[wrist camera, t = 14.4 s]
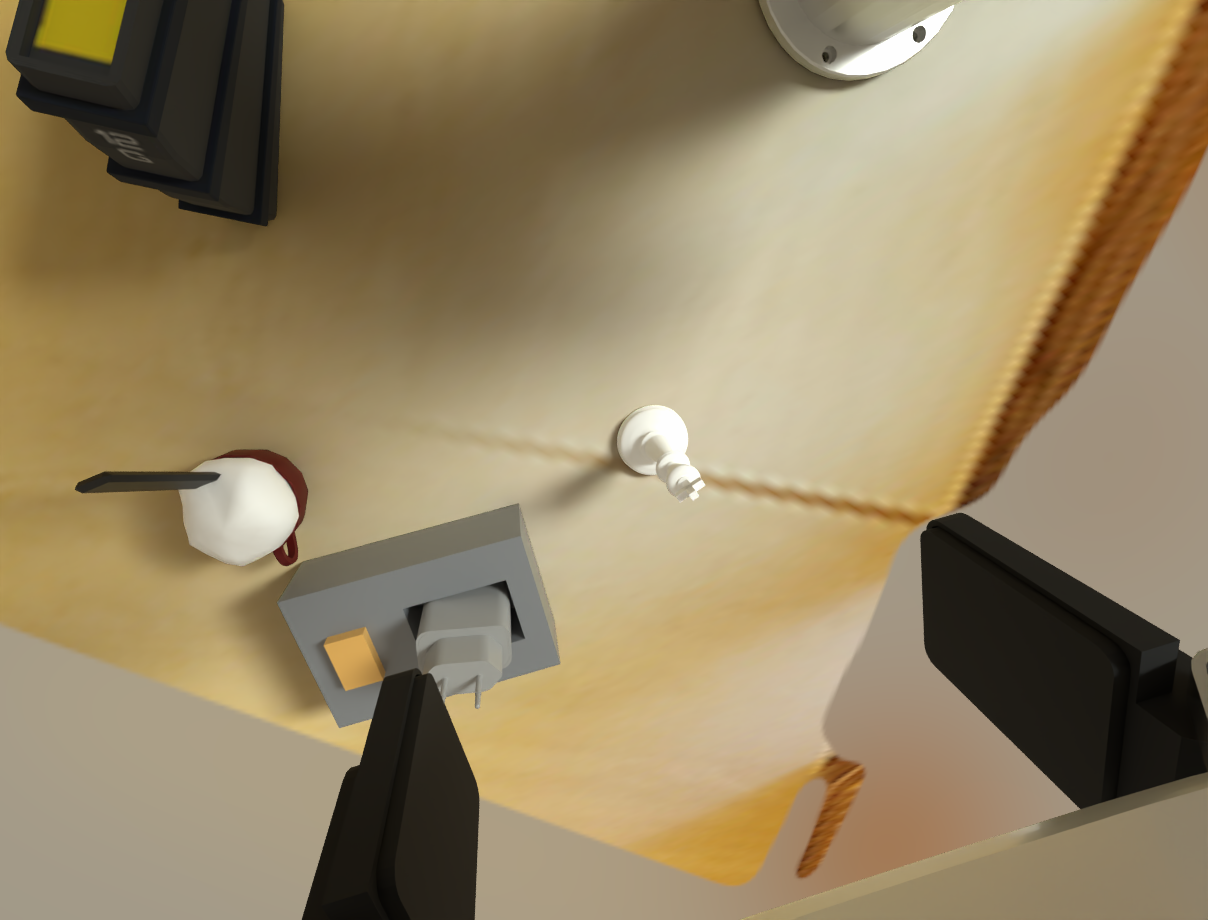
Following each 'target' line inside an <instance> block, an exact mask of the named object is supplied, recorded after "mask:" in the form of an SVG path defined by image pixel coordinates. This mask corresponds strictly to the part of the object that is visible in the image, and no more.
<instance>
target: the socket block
mask: <svg viewBox="0 0 1208 920" xmlns="http://www.w3.org/2000/svg"><path fill="white" fill-rule="evenodd" d="M505 580H506V582H507V585H508V588H509V591H510V603H511V648H512V660H511V662H510V664H509V665H508V666H507V667H506V668H503V669H502V677H501V678H500V679H499V680H498V682H500V681H504V680H507V679H510V678H514V677H517V676H521V675H524V674H528V673H531V672H535V671H538V670H541V669H545V668H548V667H552V666H555V665H559V664H560V657H559V650H558V643H557V635H556V628H555V621H554V618H553V614H552V611H551V608H550V605H549V601H548V598H547V595H546V591H545V588H544V585H543V581H542V578H541V575H540V572H539V568H538V565H537V562H536V558H535V555H534V552H533V549H532V545H531V542H530V539H529V535H528V532H527V529H526V526H525V522H524V519H523V516H522V512H521V509H520V506H519V504H515V505H511V506H508V507H504V508H500V509H497V510H493V511H489V512H485V513H482V514H478V515H474V516H471V517H467V518H463V519H460V520H456V521H452V522H448V523H445V524H441V525H437V526H434V527H430V528H426V529H423V530H419V531H415V532H411V533H408V534H404V535H400V536H397V537H393V538H389V539H386V540H382V541H378V542H375V543H371V544H367V545H363V546H360V547H356V548H352V549H349V550H345V551H341V552H338V553H334V554H330V555H326V556H323V557H319V558H315V559H312V560H308V561H304V562H302V563H301V565H300V566H299V568H298V570H297V571H296V573H295V574H294V576H293V578H292V579H291V581H290V582H289V584H288V586H287V587H286V589H285V590H284V592H283V594H282V595H281V597H280V598H279V600H278V602H277V604H278V606H279V608H280V610H281V612H282V614H283V616H284V618H285V620H286V622H287V624H288V626H289V628H290V630H291V632H292V634H293V636H294V638H295V640H296V642H297V644H298V646H299V648H300V650H301V652H302V654H303V656H304V658H305V660H306V662H307V664H308V666H309V668H310V670H311V672H312V674H313V676H314V678H315V680H316V682H317V684H318V686H319V688H320V690H321V692H322V694H323V696H324V699H325V701H326V703H327V705H328V707H329V709H330V711H331V713H332V715H333V717H334V719H335V721H336V723H337V725H338V727H339V728H341V727H345V726H348V725H352V724H355V723H359V722H362V721H366V720H369V719H372V718H373V714H374V711H375V707H376V703H377V700H378V696H379V692H380V689H381V685H382V682H383V679H384V678H385V677H386V676H390V675H393V674H397V673H400V672H404V671H407V670H411V669H414V668H418V669H419V667H418V659H417V650H416V639H417V634H418V630H419V625H420V620H421V616H422V611H423V607H424V603H426V602H429V601H433V600H436V599H440V598H444V597H447V596H451V595H454V594H458V593H462V592H465V591H469V590H472V589H476V588H480V587H483V586H487V585H490V584H494V583H497V582H501V581H505ZM419 670H420V669H419ZM421 673H422V672H421ZM422 674H423V673H422ZM454 695H455V694H454ZM448 696H452V695H446V697H448Z"/></svg>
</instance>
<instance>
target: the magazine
mask: <svg viewBox="0 0 1208 920" xmlns="http://www.w3.org/2000/svg"><path fill="white" fill-rule="evenodd" d="M283 21H284V3H283V0H19V4H18V8H17V11H16V15H15V19H14V22H13V26H12V30H11V34H10V37H9V41H8V45H7V48H6V56H7V60H8V61H9V62H10V63H11V64H12V65H13V66H14V67H15V68H16V69H17V70H18V71H19V72H20V73H21V77H20V81H19V84H18V88H17V92H16V95H17V97H18V98H19V99H20V100H21V101H22V102H23V103H24V104H25V105H26V106H28V107H29V108H30V109H31V110H32V111H35V112H40V113H44V114H49V115H53V116H58V117H62V118H65V119H66V120H67V121H68V122H69V123H70V124H71V125H72V126H73V127H74V128H75V129H76V130H77V131H78V132H79V134H80V135H81V136H82V137H83V138H84V139H85V140H86V141H88V142H89V143H91V144H92V145H94V146H95V147H96V148H98V149H99V150H101V151H102V152H103V153H105V154H106V155H108V156H109V159H108V165H107V173H109V174H110V175H112V176H113V177H115V178H116V179H118V180H119V181H121V182H124V183H129V184H134V185H139V186H144V187H148V188H153V189H158V190H160V191H161V192H163V193H164V194H166V195H168V196H170V197H173V198H176V199H179V208H180V209H183V210H188V211H193V212H198V213H203V214H208V215H213V216H217V217H222V218H227V219H232V220H237V221H242V222H247V223H252V224H257V225H262V226H267V225H268V220H274V219H275V217H276V211H277V184H278V157H279V130H280V102H281V75H282V48H283Z"/></svg>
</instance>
